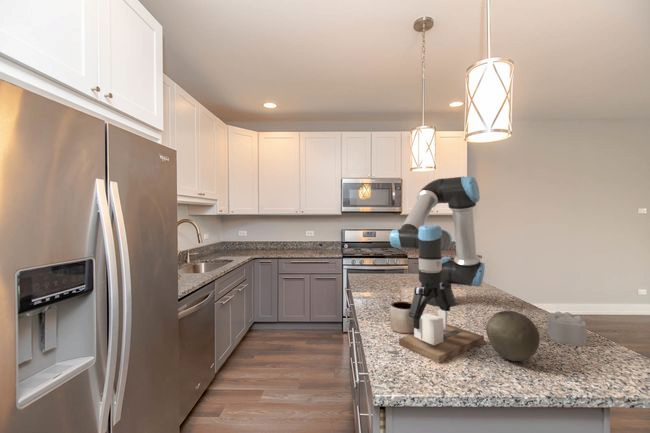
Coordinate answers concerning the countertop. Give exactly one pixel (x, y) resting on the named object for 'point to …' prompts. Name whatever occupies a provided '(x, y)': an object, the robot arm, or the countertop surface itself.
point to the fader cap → (432, 329)
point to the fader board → (443, 344)
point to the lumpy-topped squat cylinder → (567, 329)
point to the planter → (401, 318)
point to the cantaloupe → (513, 335)
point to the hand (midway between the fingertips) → (431, 333)
